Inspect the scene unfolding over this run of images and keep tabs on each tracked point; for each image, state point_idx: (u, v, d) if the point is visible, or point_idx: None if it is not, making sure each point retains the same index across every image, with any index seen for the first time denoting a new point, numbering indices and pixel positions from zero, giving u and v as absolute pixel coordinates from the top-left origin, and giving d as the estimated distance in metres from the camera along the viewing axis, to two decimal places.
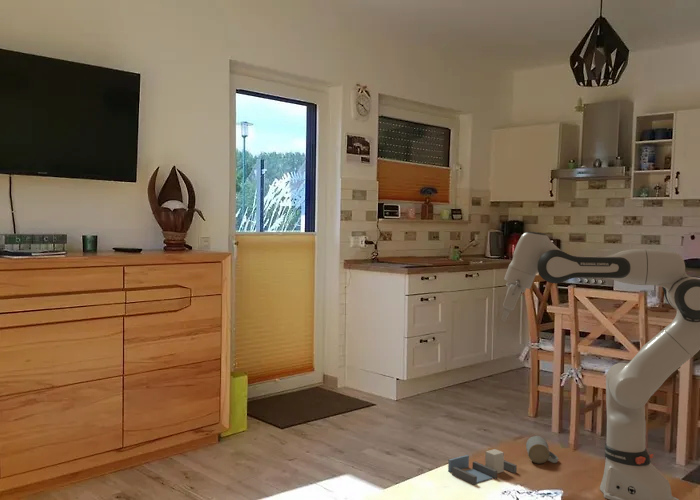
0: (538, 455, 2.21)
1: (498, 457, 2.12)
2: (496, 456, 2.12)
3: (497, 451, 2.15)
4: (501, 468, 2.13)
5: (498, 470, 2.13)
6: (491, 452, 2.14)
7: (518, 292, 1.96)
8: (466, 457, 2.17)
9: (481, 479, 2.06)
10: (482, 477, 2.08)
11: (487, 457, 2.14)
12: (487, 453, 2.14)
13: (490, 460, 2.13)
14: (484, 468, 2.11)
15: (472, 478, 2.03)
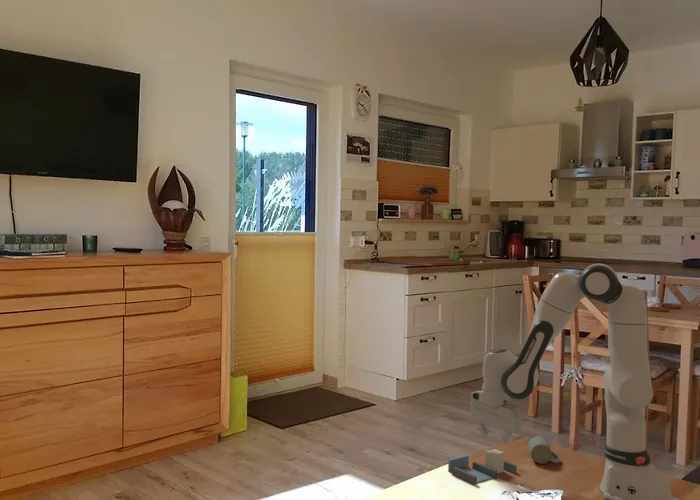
0: (540, 455, 2.21)
1: (498, 457, 2.12)
2: (496, 456, 2.12)
3: (497, 451, 2.15)
4: (501, 468, 2.13)
5: (498, 470, 2.13)
6: (491, 452, 2.14)
7: None
8: (466, 457, 2.17)
9: (481, 479, 2.06)
10: (482, 477, 2.08)
11: (487, 457, 2.14)
12: (487, 453, 2.14)
13: (490, 460, 2.13)
14: (484, 468, 2.11)
15: (472, 478, 2.03)
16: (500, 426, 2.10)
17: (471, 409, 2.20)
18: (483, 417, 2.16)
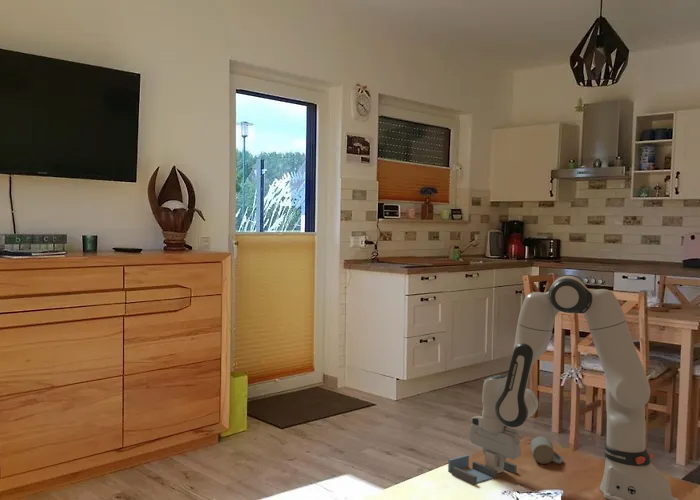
0: (542, 455, 2.20)
1: (498, 457, 2.12)
2: (496, 456, 2.12)
3: None
4: (501, 468, 2.13)
5: (498, 470, 2.13)
6: (491, 452, 2.14)
7: None
8: (466, 457, 2.17)
9: (481, 479, 2.06)
10: (482, 477, 2.08)
11: (487, 457, 2.14)
12: (487, 453, 2.14)
13: (490, 460, 2.13)
14: (484, 468, 2.11)
15: (472, 478, 2.03)
16: (500, 452, 2.10)
17: (471, 434, 2.21)
18: (483, 443, 2.16)
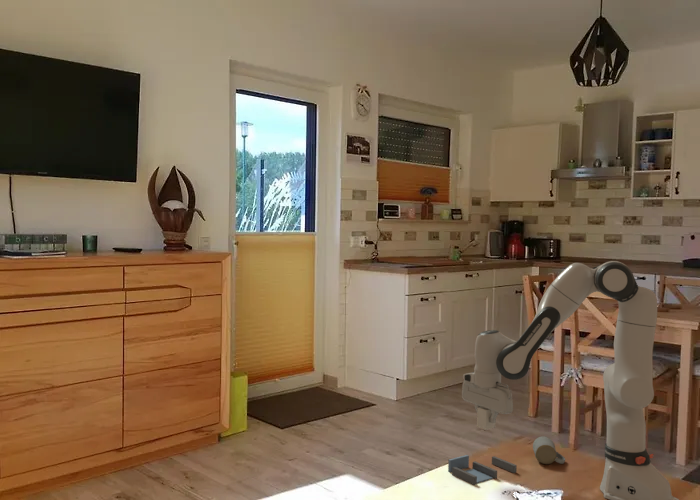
0: (545, 456, 2.20)
1: (490, 413, 2.10)
2: (488, 412, 2.10)
3: None
4: (493, 424, 2.11)
5: (490, 426, 2.10)
6: (483, 408, 2.12)
7: (511, 394, 2.05)
8: (466, 457, 2.17)
9: (481, 479, 2.06)
10: (482, 477, 2.08)
11: (478, 413, 2.12)
12: (479, 409, 2.12)
13: (482, 416, 2.10)
14: (484, 468, 2.11)
15: (472, 478, 2.03)
16: (491, 408, 2.08)
17: (463, 391, 2.18)
18: (475, 399, 2.14)
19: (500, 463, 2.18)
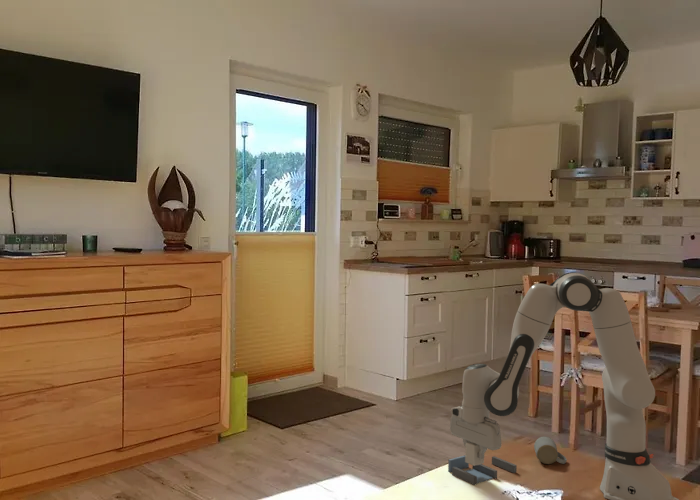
0: (546, 456, 2.20)
1: (478, 448, 2.07)
2: (476, 447, 2.07)
3: None
4: (481, 459, 2.08)
5: (478, 461, 2.07)
6: (472, 443, 2.09)
7: None
8: None
9: (481, 479, 2.06)
10: (482, 477, 2.08)
11: (467, 448, 2.09)
12: (467, 444, 2.09)
13: (470, 451, 2.07)
14: (484, 468, 2.11)
15: (472, 478, 2.03)
16: (480, 443, 2.05)
17: (451, 425, 2.15)
18: (463, 434, 2.11)
19: (500, 463, 2.18)
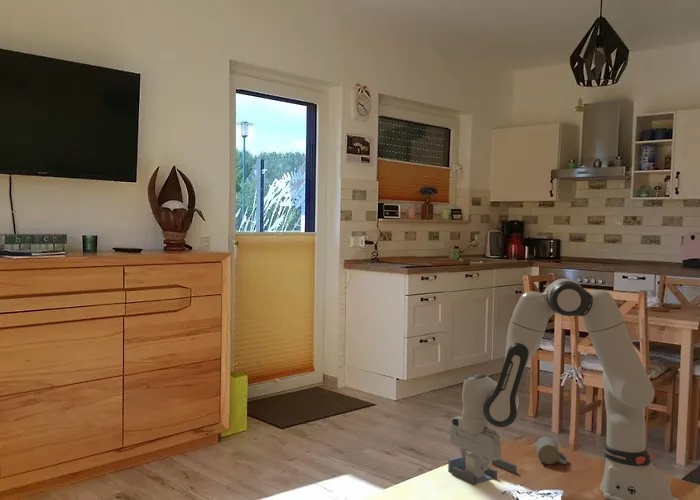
0: (548, 456, 2.20)
1: (478, 461, 2.07)
2: (476, 460, 2.07)
3: None
4: (481, 472, 2.08)
5: (478, 474, 2.08)
6: (472, 456, 2.09)
7: None
8: None
9: (481, 479, 2.06)
10: (482, 477, 2.08)
11: (467, 461, 2.09)
12: (467, 457, 2.09)
13: (470, 464, 2.08)
14: None
15: (472, 478, 2.03)
16: (480, 454, 2.05)
17: (451, 435, 2.15)
18: (463, 444, 2.11)
19: (500, 463, 2.18)
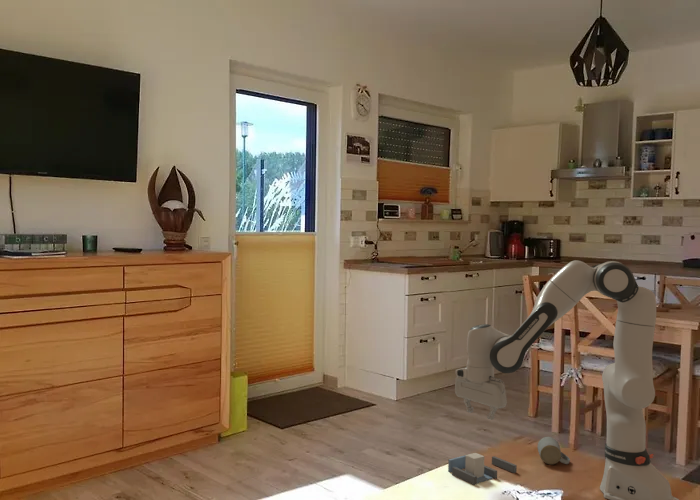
0: (550, 456, 2.20)
1: (478, 461, 2.07)
2: (476, 460, 2.07)
3: (477, 454, 2.10)
4: (481, 472, 2.08)
5: (478, 474, 2.08)
6: (472, 456, 2.09)
7: None
8: None
9: (481, 479, 2.06)
10: (482, 477, 2.08)
11: (467, 461, 2.09)
12: (467, 457, 2.09)
13: (470, 464, 2.08)
14: (484, 468, 2.11)
15: (472, 478, 2.03)
16: (485, 402, 2.06)
17: (456, 387, 2.16)
18: (468, 394, 2.12)
19: (500, 463, 2.18)
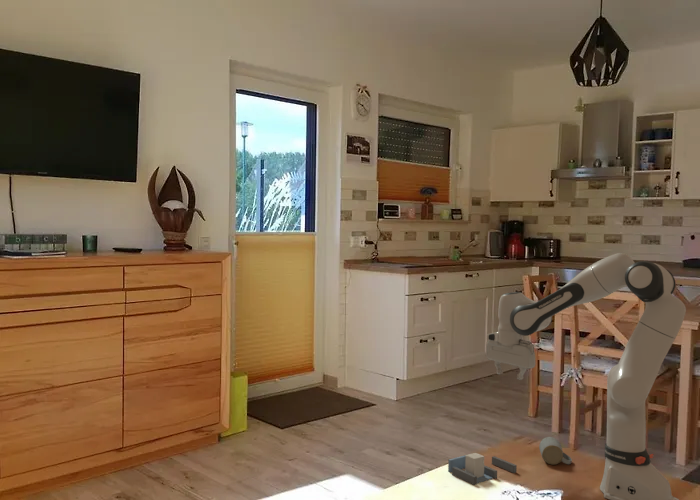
0: (552, 456, 2.20)
1: (478, 461, 2.07)
2: (476, 460, 2.07)
3: (477, 454, 2.10)
4: (481, 472, 2.08)
5: (478, 474, 2.08)
6: (472, 456, 2.09)
7: None
8: None
9: (481, 479, 2.06)
10: (482, 477, 2.08)
11: (467, 461, 2.09)
12: (467, 457, 2.09)
13: (470, 464, 2.08)
14: (484, 468, 2.11)
15: (472, 478, 2.03)
16: (515, 363, 2.21)
17: (487, 350, 2.32)
18: (499, 357, 2.28)
19: (500, 463, 2.18)
